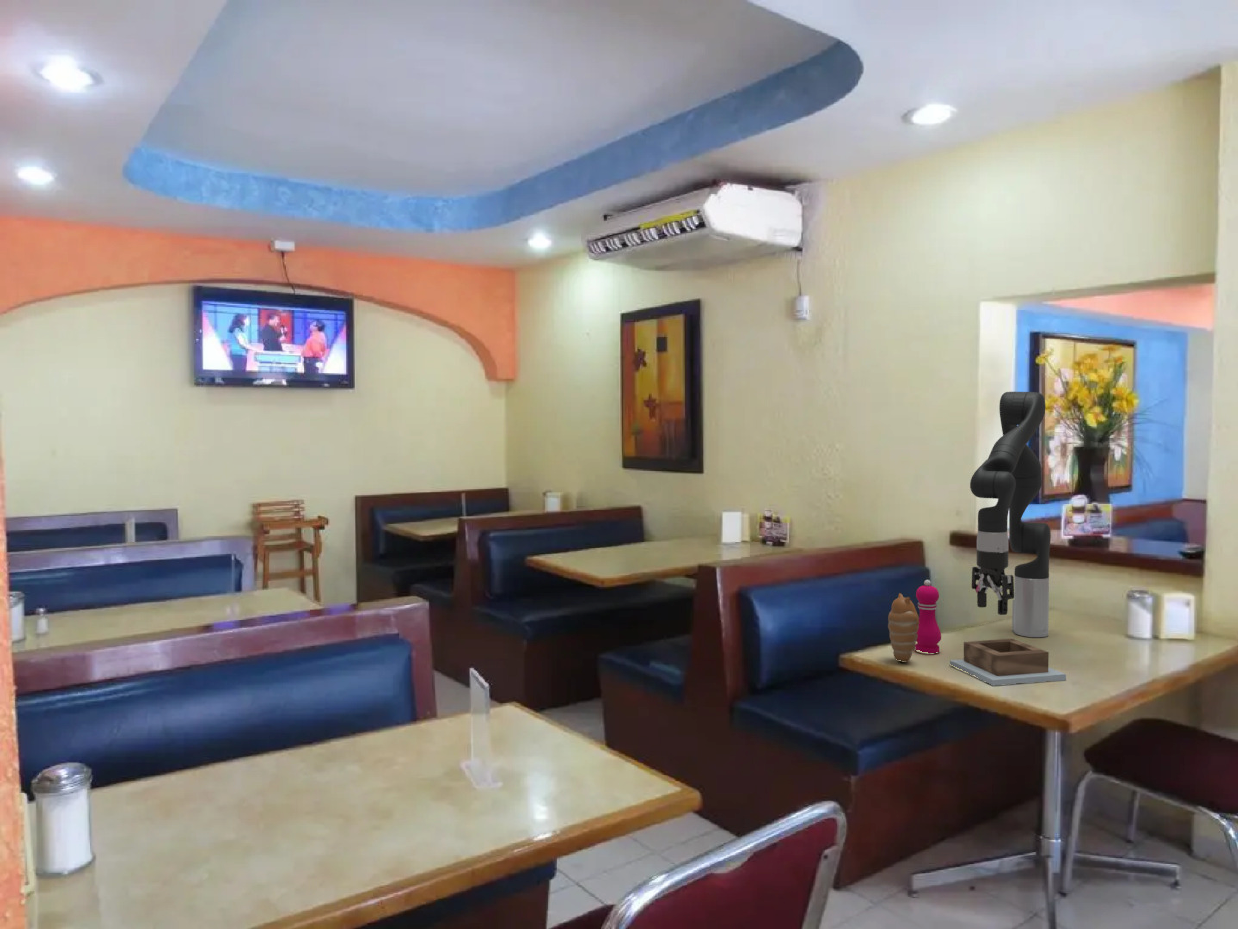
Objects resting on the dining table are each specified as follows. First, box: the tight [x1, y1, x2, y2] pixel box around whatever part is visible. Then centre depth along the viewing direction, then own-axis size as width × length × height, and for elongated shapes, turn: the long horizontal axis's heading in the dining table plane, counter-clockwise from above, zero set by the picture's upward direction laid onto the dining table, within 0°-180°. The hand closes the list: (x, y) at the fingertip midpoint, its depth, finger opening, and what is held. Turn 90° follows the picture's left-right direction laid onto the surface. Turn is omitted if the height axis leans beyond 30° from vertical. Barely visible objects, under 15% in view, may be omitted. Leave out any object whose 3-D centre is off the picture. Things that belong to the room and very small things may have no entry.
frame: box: [963, 638, 1050, 676], centre depth 219 cm, size 14×14×5 cm
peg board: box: [949, 658, 1067, 687], centre depth 219 cm, size 18×20×4 cm
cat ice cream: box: [887, 592, 919, 662], centre depth 229 cm, size 9×8×18 cm
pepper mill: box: [914, 579, 942, 653], centre depth 239 cm, size 7×7×20 cm
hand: (992, 610), depth 224 cm, fingers open, 8 cm apart
